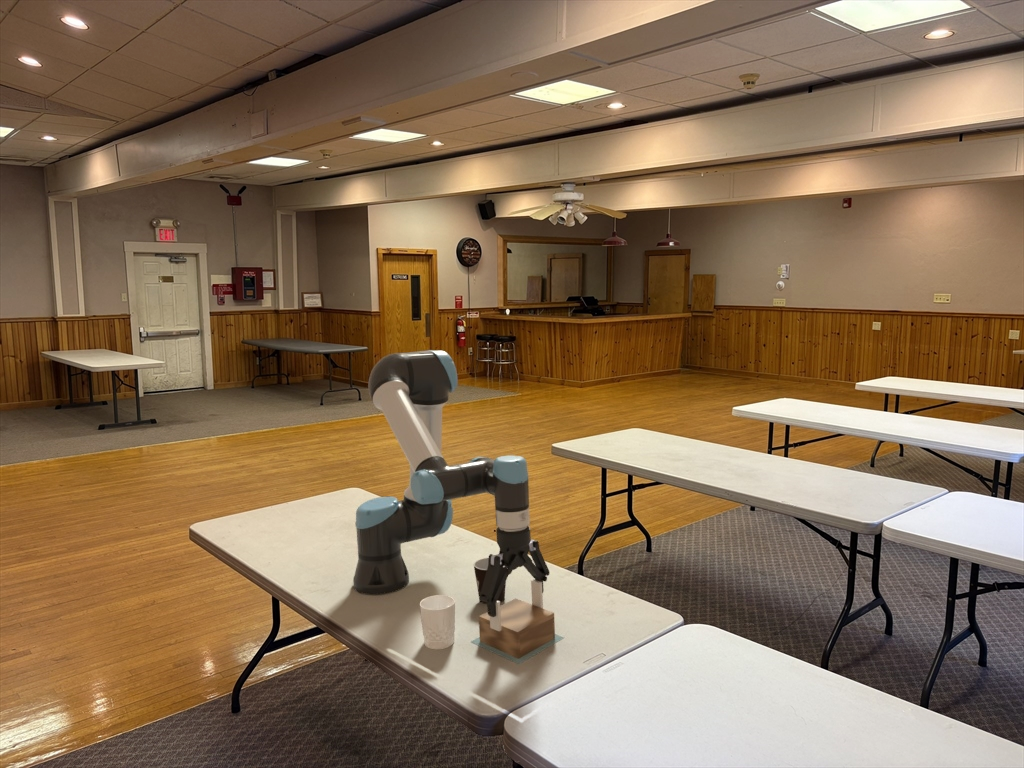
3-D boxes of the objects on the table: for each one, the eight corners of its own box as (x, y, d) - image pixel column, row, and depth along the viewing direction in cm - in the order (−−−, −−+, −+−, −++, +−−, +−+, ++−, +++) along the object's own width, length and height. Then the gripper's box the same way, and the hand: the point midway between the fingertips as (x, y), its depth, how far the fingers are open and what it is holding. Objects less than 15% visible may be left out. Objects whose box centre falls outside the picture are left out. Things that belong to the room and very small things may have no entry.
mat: (470, 644, 158) (470, 641, 158) (516, 620, 169) (516, 618, 169) (518, 666, 148) (518, 663, 148) (564, 640, 159) (564, 637, 159)
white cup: (429, 656, 154) (427, 612, 153) (417, 641, 161) (414, 599, 160) (462, 647, 157) (460, 604, 156) (449, 633, 164) (446, 592, 163)
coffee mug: (504, 609, 176) (503, 570, 175) (471, 607, 178) (469, 569, 176) (514, 590, 187) (512, 553, 186) (482, 588, 189) (481, 552, 188)
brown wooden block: (479, 641, 158) (478, 616, 158) (516, 622, 167) (515, 598, 166) (518, 658, 150) (517, 632, 149) (554, 638, 159) (554, 612, 158)
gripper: (484, 545, 144) (489, 643, 146) (562, 515, 162) (565, 604, 164) (459, 538, 149) (464, 633, 151) (538, 510, 167) (541, 596, 169)
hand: (517, 618), depth 158 cm, fingers open, 13 cm apart
